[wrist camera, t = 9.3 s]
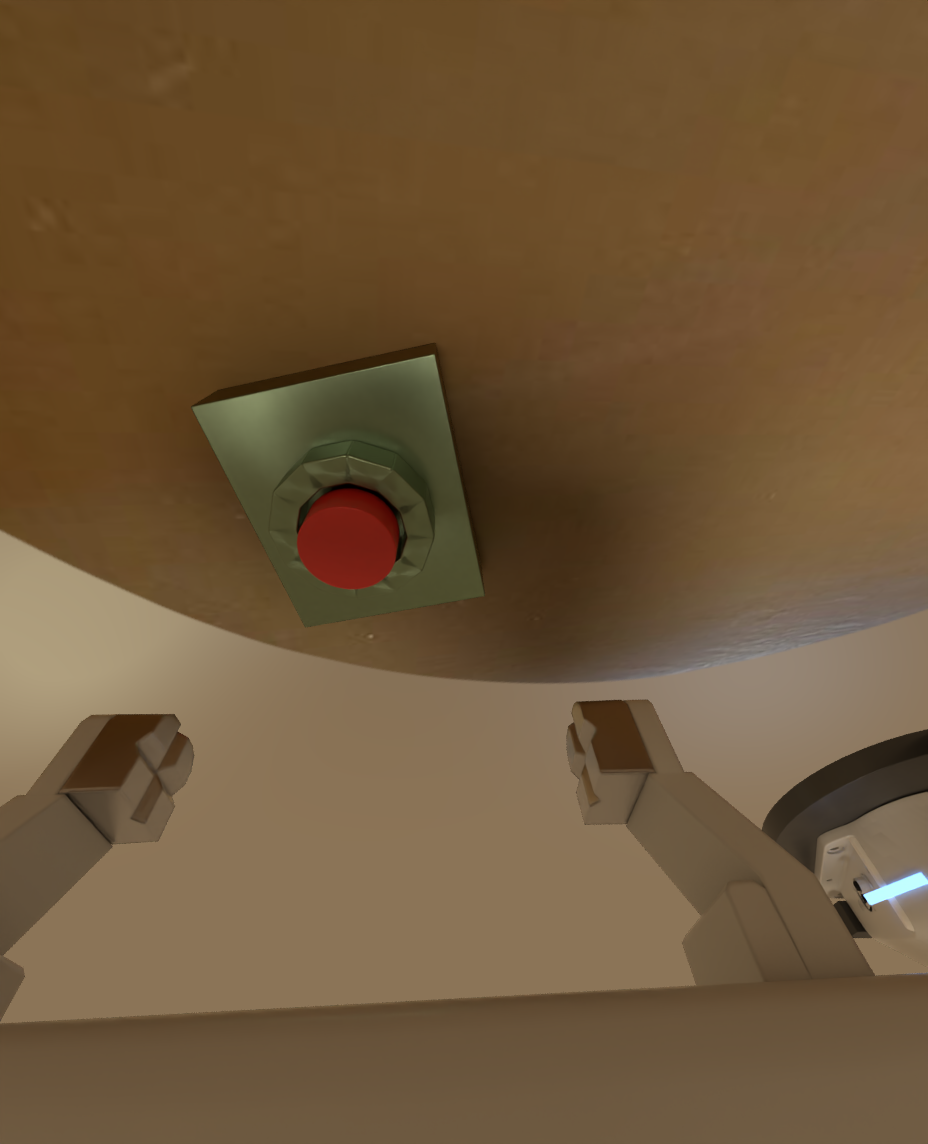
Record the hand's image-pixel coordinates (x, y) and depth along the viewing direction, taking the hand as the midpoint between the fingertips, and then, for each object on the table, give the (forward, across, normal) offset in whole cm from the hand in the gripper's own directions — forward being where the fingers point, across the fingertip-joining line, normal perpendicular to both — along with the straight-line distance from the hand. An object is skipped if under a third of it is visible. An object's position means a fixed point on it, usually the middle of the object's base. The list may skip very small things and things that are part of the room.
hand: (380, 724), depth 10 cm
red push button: (+12, +3, +2) cm, 12 cm away
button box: (+16, +3, +2) cm, 16 cm away
